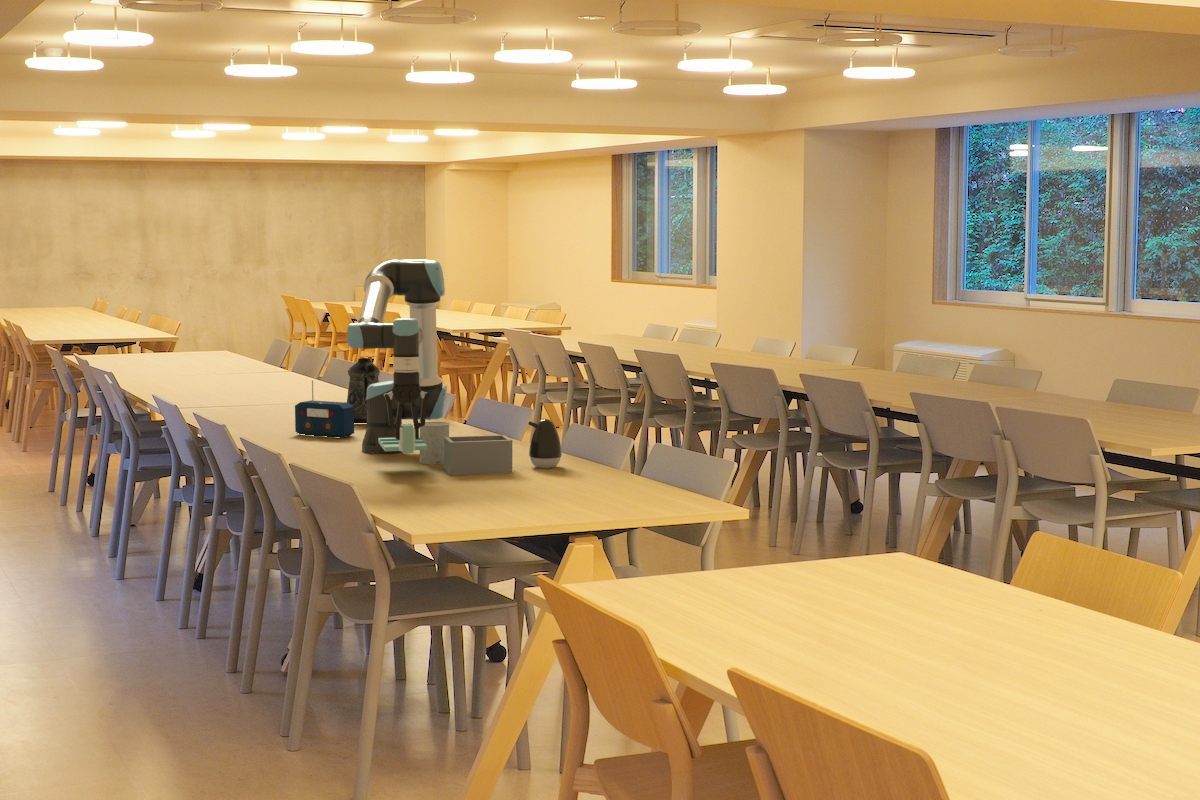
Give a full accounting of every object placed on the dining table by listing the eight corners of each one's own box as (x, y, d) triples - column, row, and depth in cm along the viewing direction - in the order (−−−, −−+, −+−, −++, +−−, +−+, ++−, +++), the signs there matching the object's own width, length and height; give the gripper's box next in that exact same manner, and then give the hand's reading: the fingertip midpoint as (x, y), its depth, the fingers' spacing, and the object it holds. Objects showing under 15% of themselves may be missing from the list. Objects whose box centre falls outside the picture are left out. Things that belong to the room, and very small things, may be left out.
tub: (444, 468, 397) (444, 436, 396) (504, 466, 402) (504, 434, 401) (450, 475, 385) (450, 442, 384) (512, 472, 390) (512, 440, 389)
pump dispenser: (529, 464, 406) (529, 416, 404) (562, 464, 406) (562, 416, 405) (527, 469, 396) (527, 421, 394) (561, 470, 396) (561, 421, 394)
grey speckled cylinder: (444, 464, 404) (443, 426, 403) (415, 463, 406) (414, 425, 405) (453, 460, 414) (453, 422, 412) (425, 459, 416) (425, 421, 414)
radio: (293, 435, 466) (291, 381, 463) (307, 432, 474) (306, 378, 471) (342, 439, 458) (341, 383, 455) (355, 436, 466) (354, 381, 463)
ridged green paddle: (386, 453, 375) (386, 426, 374) (378, 441, 399) (377, 416, 398) (429, 452, 378) (429, 425, 378) (418, 440, 402) (418, 415, 401)
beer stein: (365, 418, 515) (364, 356, 512) (400, 422, 504) (399, 358, 501) (334, 422, 502) (333, 358, 499) (369, 426, 490) (368, 361, 488)
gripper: (379, 372, 371) (381, 453, 373) (435, 371, 375) (436, 451, 377) (377, 370, 378) (378, 449, 380) (431, 369, 382) (432, 447, 385)
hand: (407, 450), depth 379 cm, fingers closed on ridged green paddle, 3 cm apart
